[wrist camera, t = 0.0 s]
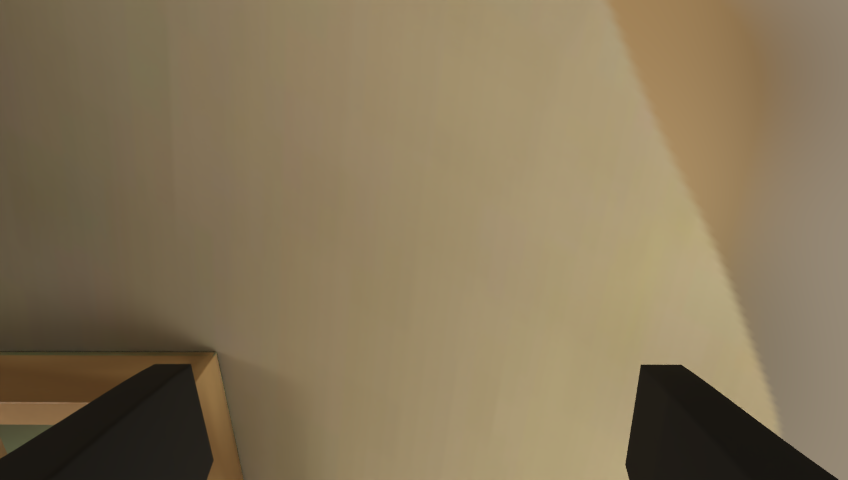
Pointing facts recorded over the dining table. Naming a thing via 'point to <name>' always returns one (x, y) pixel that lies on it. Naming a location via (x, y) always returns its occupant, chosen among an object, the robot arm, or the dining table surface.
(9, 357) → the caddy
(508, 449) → the dining table surface
